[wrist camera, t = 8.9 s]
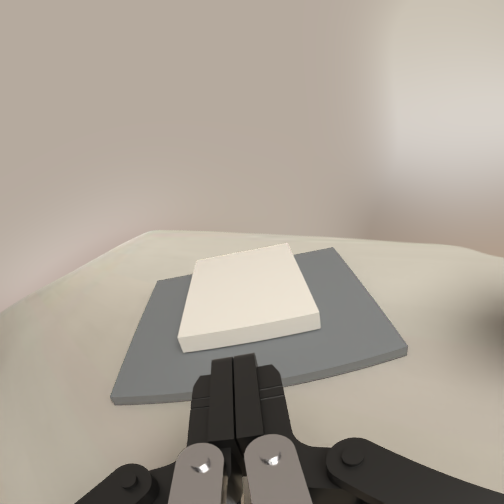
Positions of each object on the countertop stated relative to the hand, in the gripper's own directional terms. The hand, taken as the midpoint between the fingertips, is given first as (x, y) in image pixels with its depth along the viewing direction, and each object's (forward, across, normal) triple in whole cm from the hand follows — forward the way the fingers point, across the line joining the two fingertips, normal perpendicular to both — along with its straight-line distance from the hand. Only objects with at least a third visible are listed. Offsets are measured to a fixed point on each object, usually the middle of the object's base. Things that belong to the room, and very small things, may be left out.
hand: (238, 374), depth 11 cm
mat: (+15, 0, +7) cm, 16 cm away
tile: (+10, 0, +5) cm, 11 cm away
